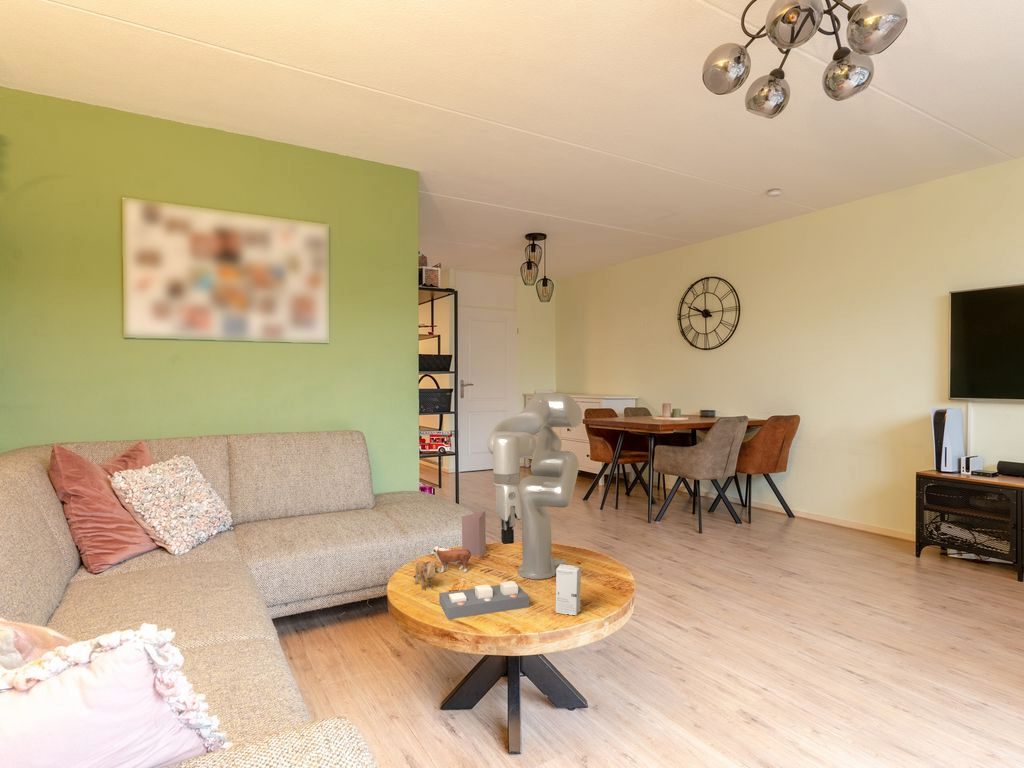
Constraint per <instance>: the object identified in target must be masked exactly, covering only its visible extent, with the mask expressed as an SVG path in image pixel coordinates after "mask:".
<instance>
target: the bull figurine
mask: <svg viewBox="0 0 1024 768" xmlns="http://www.w3.org/2000/svg"><path fill="white" fill-rule="evenodd" d="M431 554H432V555H434V556H435V557H436V558H437V560H438V561H439V563H440V564H442V565H441V569H440V571H439V573H440V574H443V573H444V572H445V571H448V570H449V569H450V567H449V564H453V565H454V566H457V565H458V563H459V562H461V564H460V566H459V568H457V570H458V571H461V570H463V569H464V570H463V573H467V572H468V567H469V560H470V558H471V557H472V556H471V552H470V551H469V550H468V549H464V550H462V549H449V548H444V547H443V546H439V545H436V546H434V548H432V551H431ZM469 554H470V556H469ZM442 572H443V573H442Z"/></svg>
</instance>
